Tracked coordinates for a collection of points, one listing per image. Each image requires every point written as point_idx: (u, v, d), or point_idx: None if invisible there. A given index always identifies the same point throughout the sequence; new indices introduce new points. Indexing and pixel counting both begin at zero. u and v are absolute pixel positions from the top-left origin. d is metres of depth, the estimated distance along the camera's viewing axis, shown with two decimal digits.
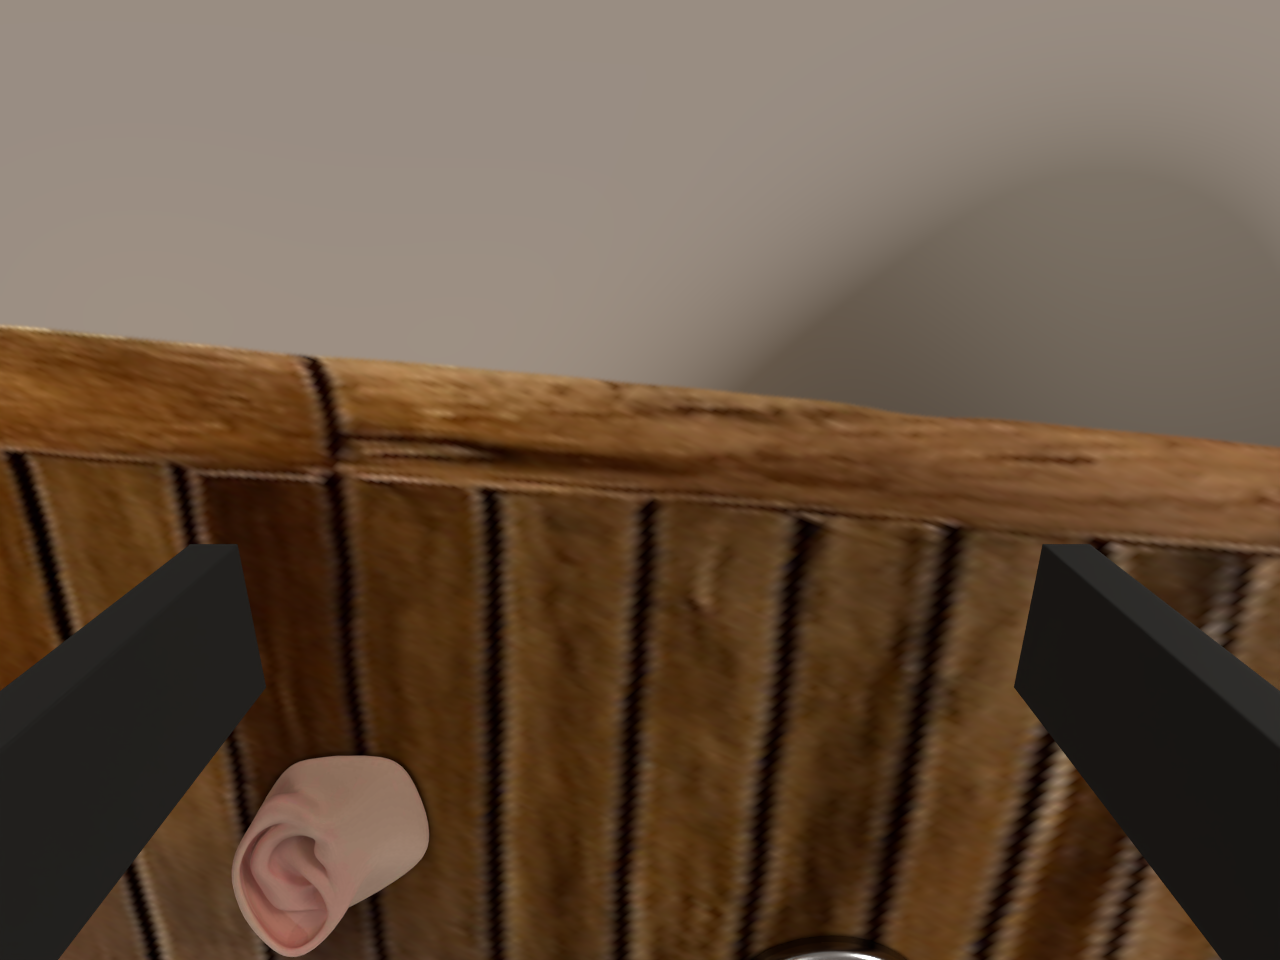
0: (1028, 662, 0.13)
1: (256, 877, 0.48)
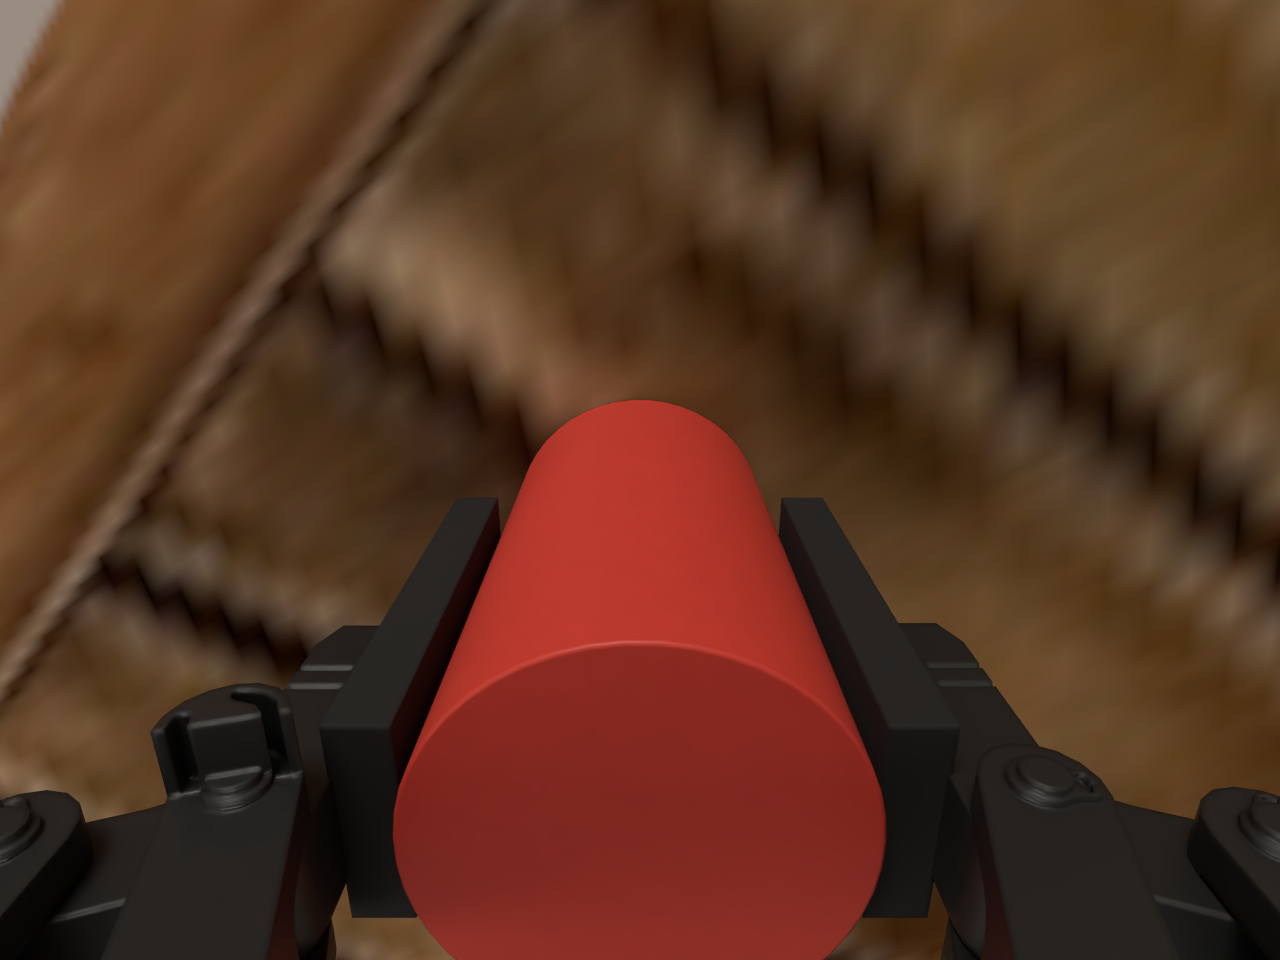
0: None
1: None
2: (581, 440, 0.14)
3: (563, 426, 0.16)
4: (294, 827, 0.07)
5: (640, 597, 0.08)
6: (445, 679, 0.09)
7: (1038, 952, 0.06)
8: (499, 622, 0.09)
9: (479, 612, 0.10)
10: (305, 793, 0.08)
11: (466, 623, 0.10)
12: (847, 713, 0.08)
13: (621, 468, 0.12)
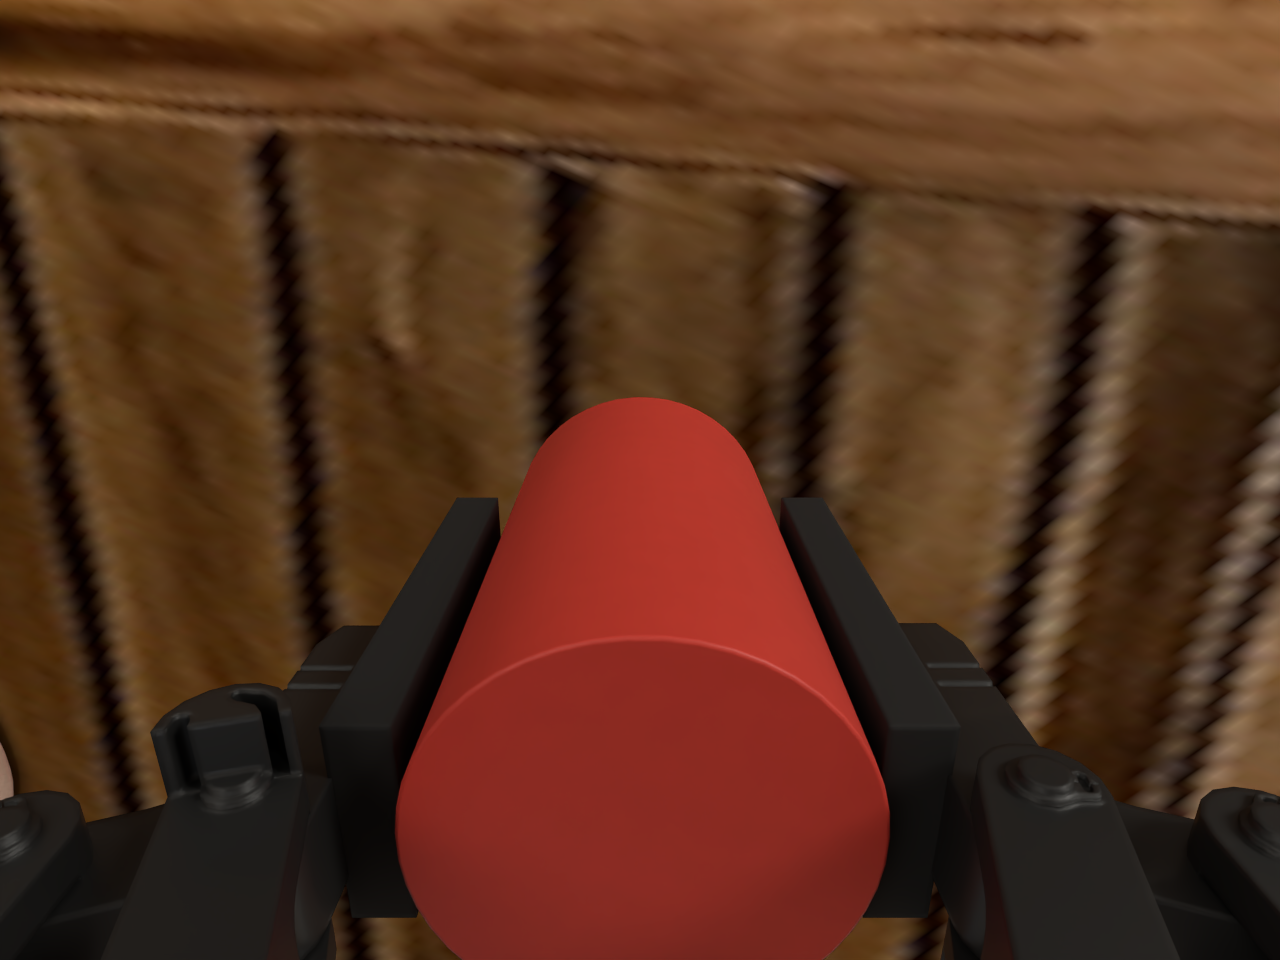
0: None
1: None
2: (583, 437, 0.14)
3: (564, 423, 0.16)
4: (294, 827, 0.07)
5: (642, 591, 0.08)
6: (447, 675, 0.09)
7: (1037, 952, 0.06)
8: (501, 618, 0.09)
9: (481, 608, 0.10)
10: (305, 793, 0.08)
11: (468, 619, 0.10)
12: (851, 709, 0.08)
13: (623, 464, 0.12)
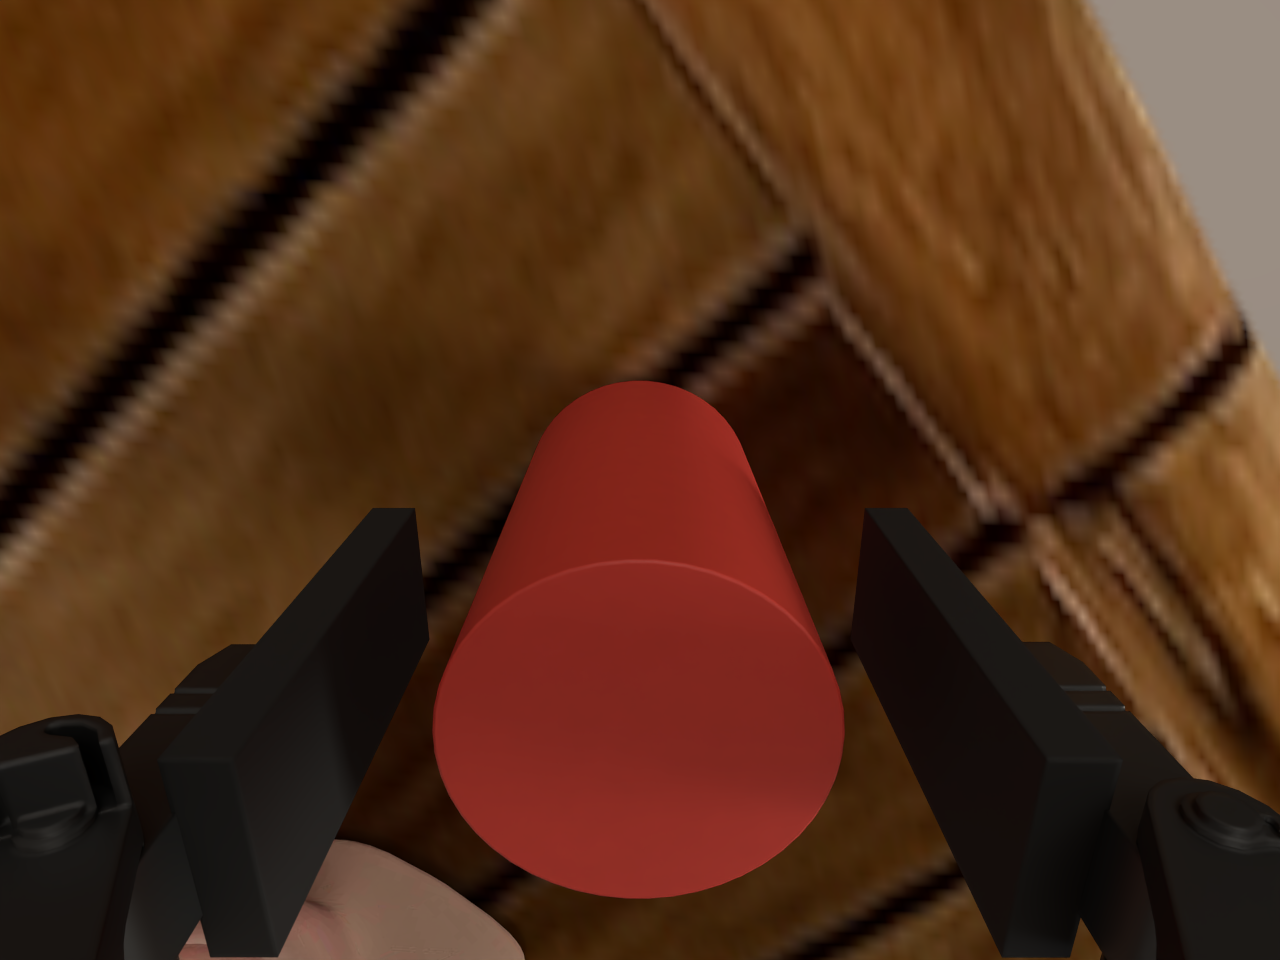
0: (857, 615, 0.14)
1: None
2: (586, 414, 0.16)
3: (569, 404, 0.17)
4: (121, 861, 0.07)
5: (638, 529, 0.10)
6: (474, 603, 0.10)
7: None
8: (519, 554, 0.10)
9: (501, 552, 0.11)
10: (136, 825, 0.07)
11: (489, 564, 0.12)
12: (812, 627, 0.10)
13: (622, 435, 0.14)
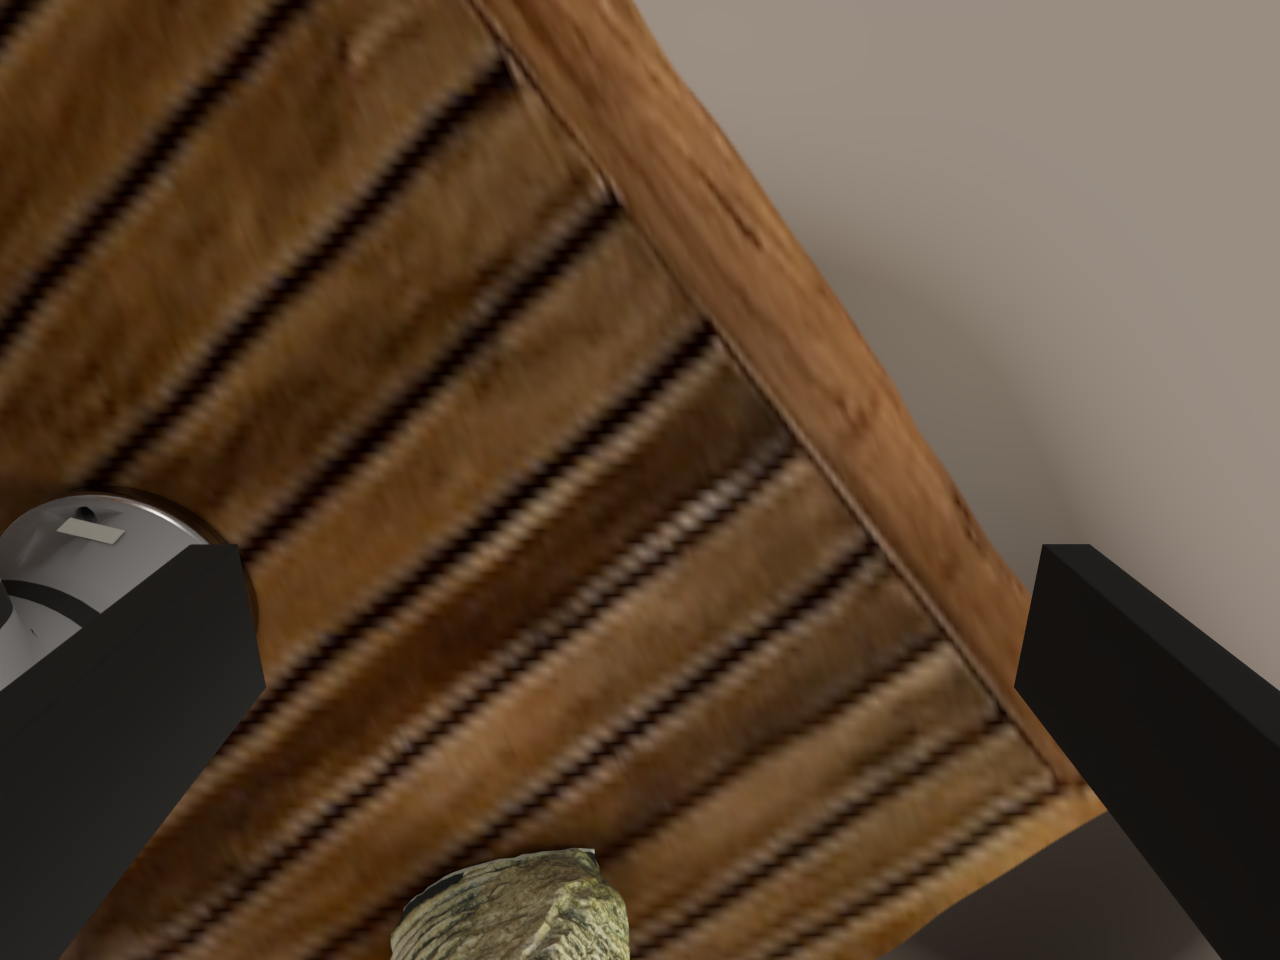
0: (1028, 662, 0.13)
1: None
2: None
3: None
4: None
5: None
6: None
7: None
8: None
9: None
10: None
11: None
12: None
13: None
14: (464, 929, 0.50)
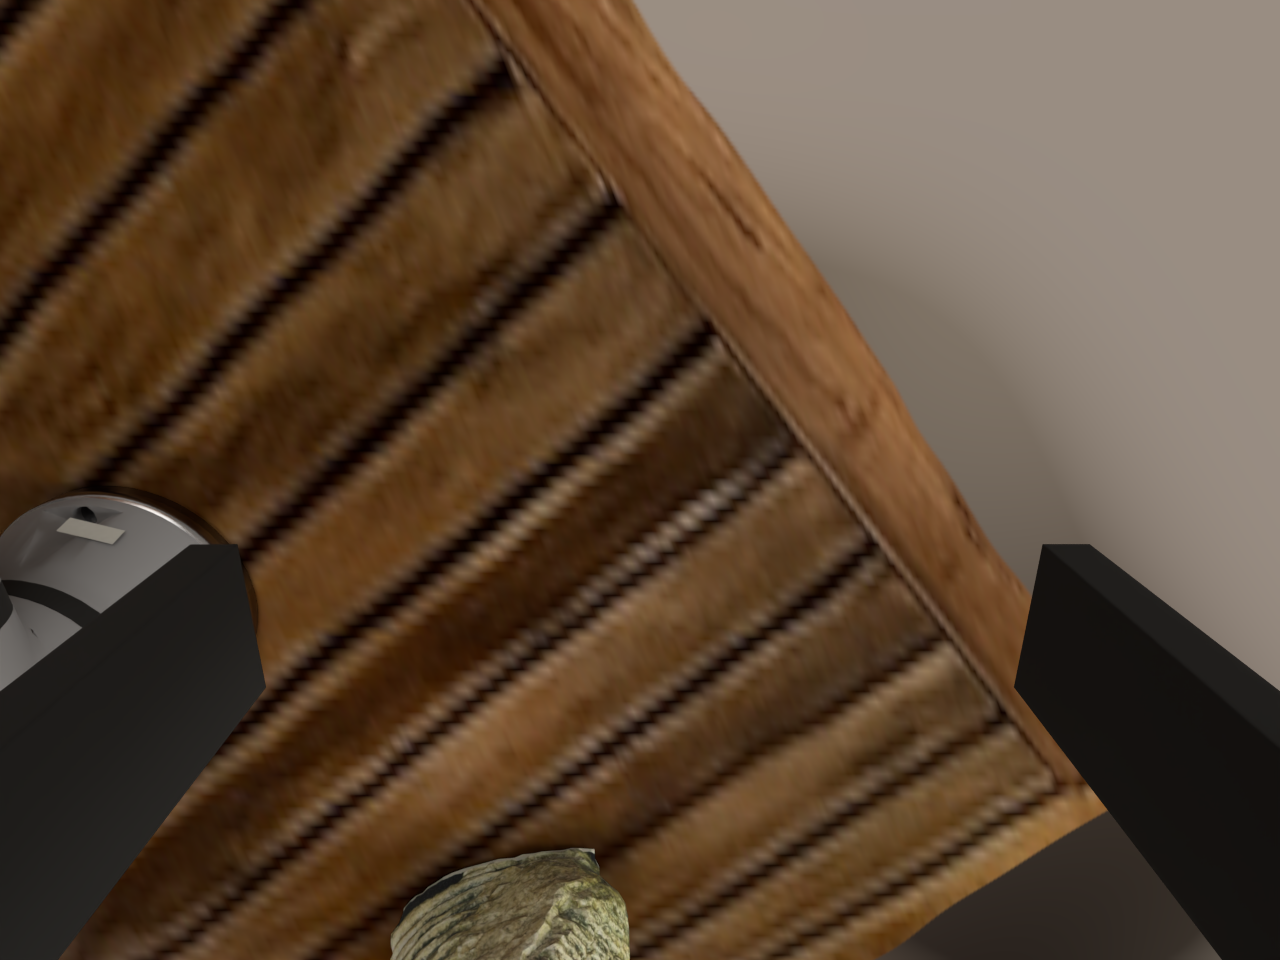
0: (1028, 662, 0.13)
1: None
2: None
3: None
4: None
5: None
6: None
7: None
8: None
9: None
10: None
11: None
12: None
13: None
14: (464, 929, 0.50)
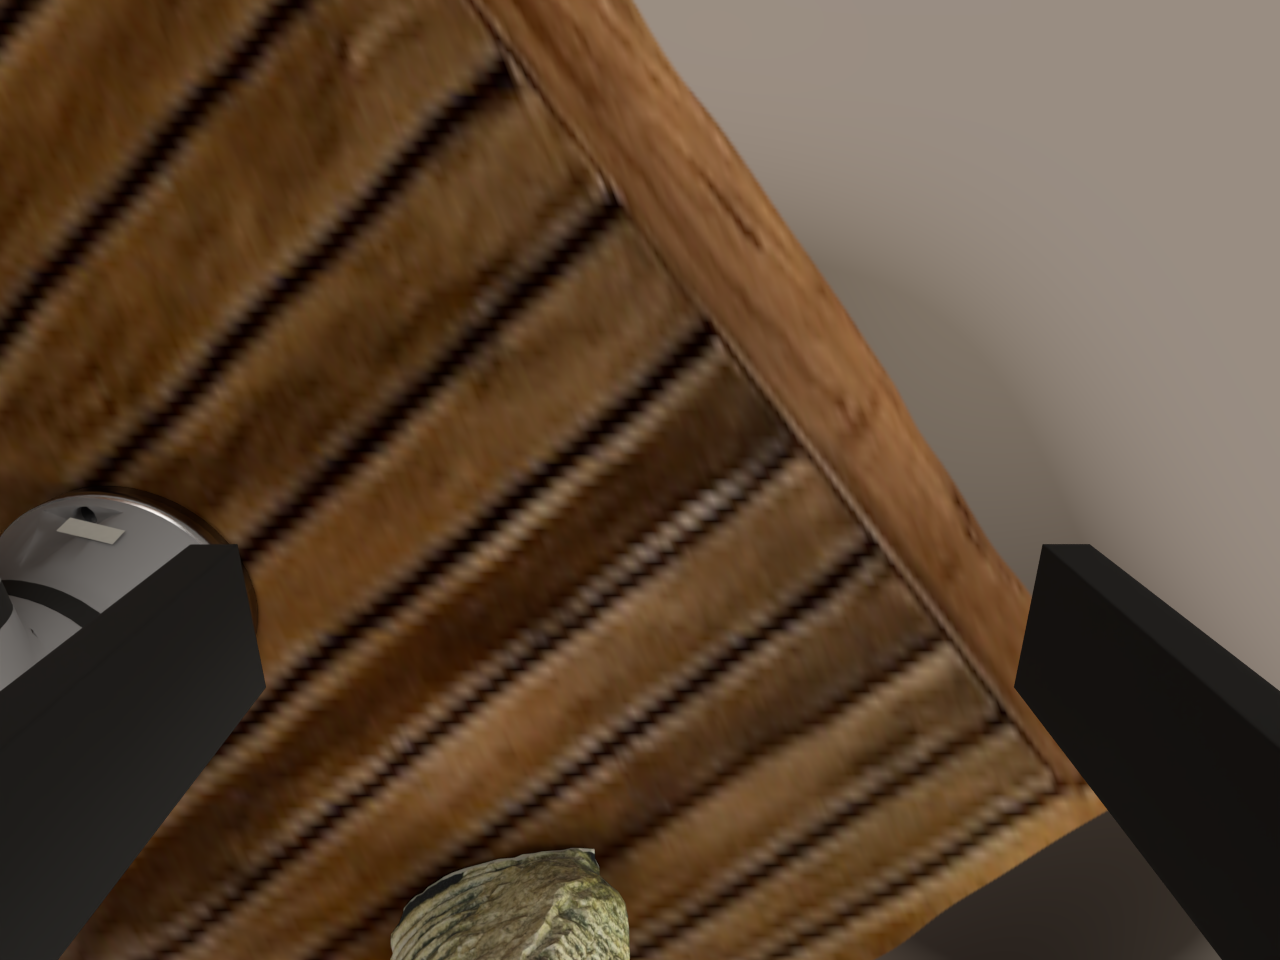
0: (1028, 662, 0.13)
1: None
2: None
3: None
4: None
5: None
6: None
7: None
8: None
9: None
10: None
11: None
12: None
13: None
14: (464, 929, 0.50)
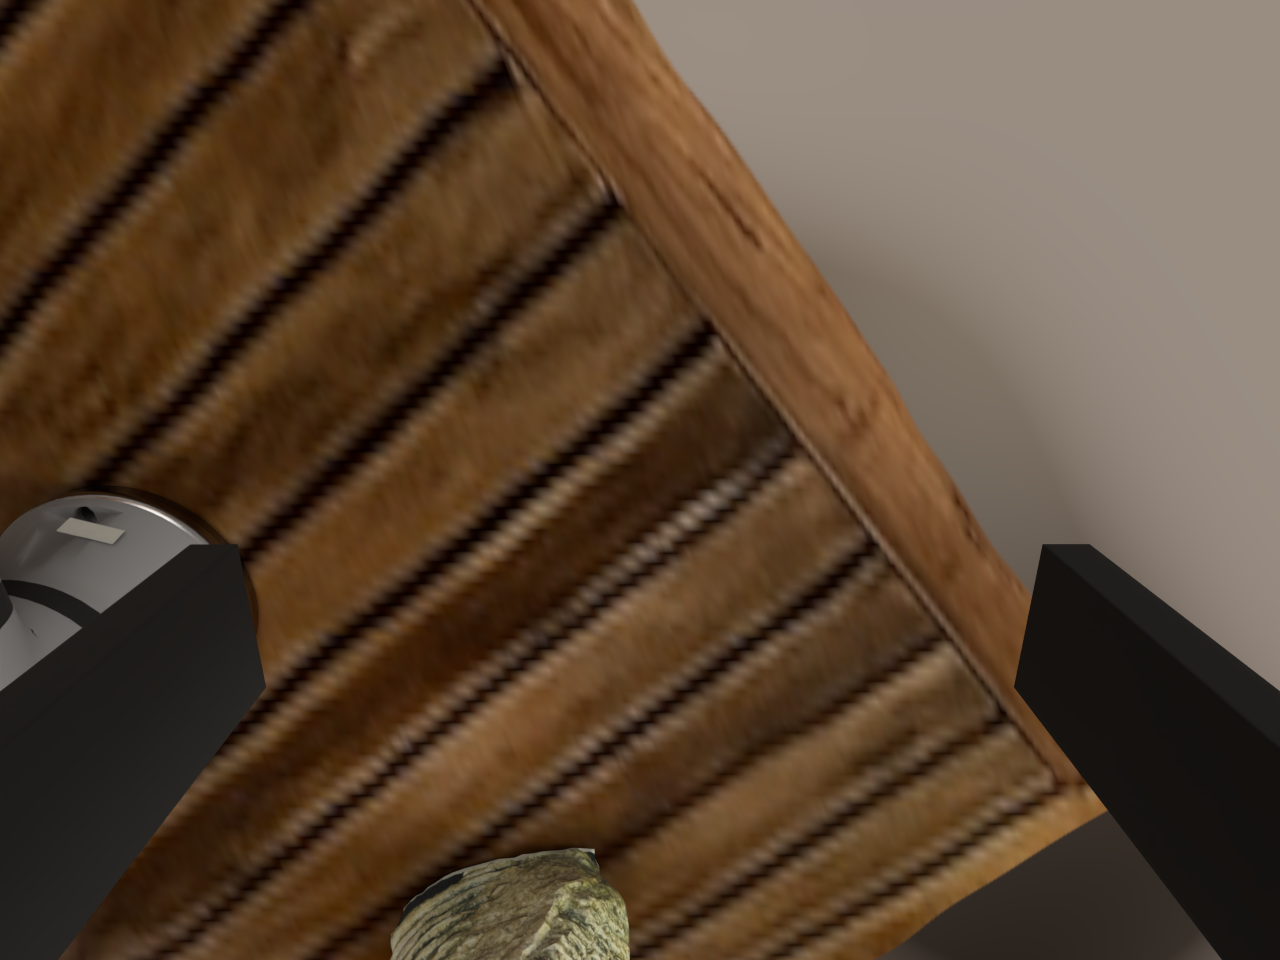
0: (1028, 662, 0.13)
1: None
2: None
3: None
4: None
5: None
6: None
7: None
8: None
9: None
10: None
11: None
12: None
13: None
14: (464, 929, 0.50)
